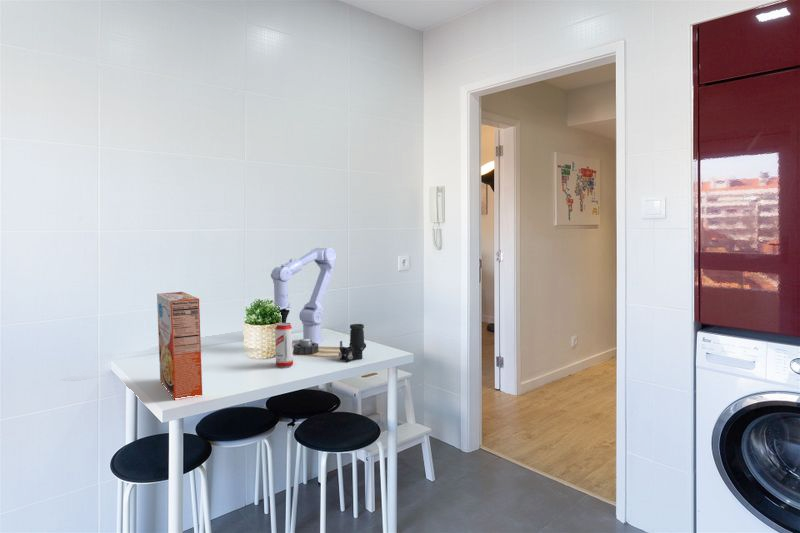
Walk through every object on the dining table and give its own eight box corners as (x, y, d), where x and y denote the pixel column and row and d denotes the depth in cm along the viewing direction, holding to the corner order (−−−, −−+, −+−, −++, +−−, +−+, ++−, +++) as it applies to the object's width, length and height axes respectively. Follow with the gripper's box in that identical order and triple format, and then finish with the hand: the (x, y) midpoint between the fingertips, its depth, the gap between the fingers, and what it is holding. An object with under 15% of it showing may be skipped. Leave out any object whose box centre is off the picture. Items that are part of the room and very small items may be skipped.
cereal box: (160, 382, 169) (156, 293, 167) (185, 377, 173) (182, 291, 171) (174, 400, 150) (170, 301, 148) (202, 395, 155) (199, 298, 153)
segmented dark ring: (298, 348, 213) (298, 341, 213) (321, 349, 212) (321, 342, 211) (289, 354, 203) (289, 347, 203) (313, 355, 202) (313, 348, 202)
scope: (337, 325, 195) (359, 322, 201) (338, 360, 196) (359, 356, 202) (349, 328, 189) (371, 325, 195) (349, 364, 190) (371, 360, 196)
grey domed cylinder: (302, 350, 210) (302, 338, 210) (313, 350, 210) (313, 338, 209) (298, 353, 205) (298, 340, 205) (310, 353, 205) (309, 341, 204)
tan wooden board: (301, 347, 219) (301, 345, 219) (354, 348, 215) (354, 347, 215) (285, 357, 202) (285, 355, 202) (343, 359, 198) (343, 357, 198)
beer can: (287, 363, 192) (286, 321, 191) (296, 366, 188) (295, 323, 187) (272, 366, 188) (271, 323, 187) (281, 369, 184) (280, 326, 183)
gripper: (283, 297, 204) (284, 330, 205) (296, 293, 218) (297, 324, 219) (267, 297, 205) (267, 330, 206) (281, 293, 220) (281, 324, 221)
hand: (281, 327), depth 213 cm, fingers closed
